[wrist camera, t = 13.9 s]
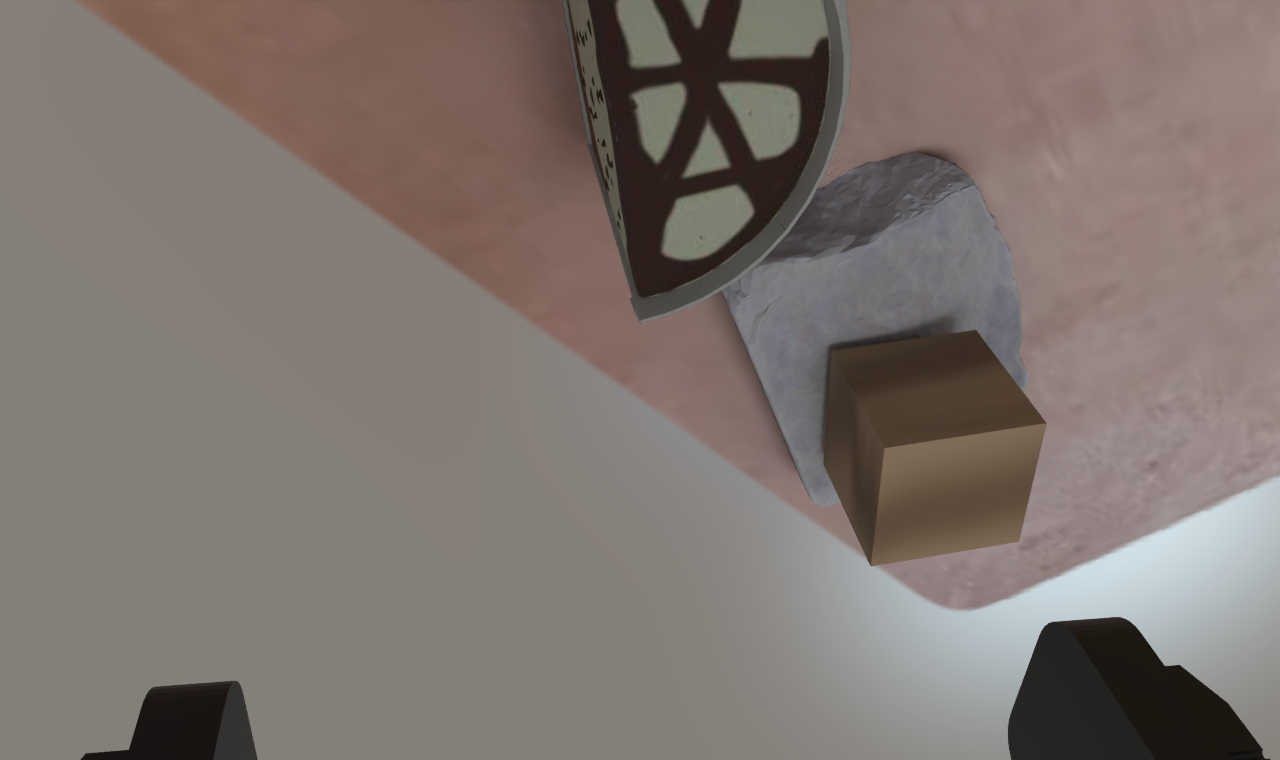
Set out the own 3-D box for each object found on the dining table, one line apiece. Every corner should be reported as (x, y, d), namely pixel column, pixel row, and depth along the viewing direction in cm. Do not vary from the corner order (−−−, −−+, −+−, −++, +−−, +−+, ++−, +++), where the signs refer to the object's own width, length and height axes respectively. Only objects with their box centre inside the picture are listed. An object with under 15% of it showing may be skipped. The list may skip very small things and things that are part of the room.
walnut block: (831, 350, 35) (884, 448, 31) (976, 329, 36) (1046, 423, 32) (823, 464, 38) (870, 566, 34) (956, 443, 39) (1018, 541, 35)
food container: (777, 155, 36) (879, 293, 27) (596, 191, 35) (642, 342, 27) (743, -275, 29) (864, -267, 21) (519, -235, 29) (549, -211, 20)
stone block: (917, 105, 38) (674, 248, 37) (1002, 142, 34) (732, 304, 33) (986, 354, 44) (782, 480, 44) (1064, 410, 40) (841, 549, 40)
